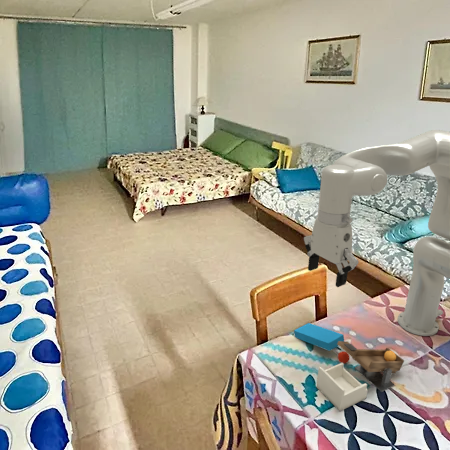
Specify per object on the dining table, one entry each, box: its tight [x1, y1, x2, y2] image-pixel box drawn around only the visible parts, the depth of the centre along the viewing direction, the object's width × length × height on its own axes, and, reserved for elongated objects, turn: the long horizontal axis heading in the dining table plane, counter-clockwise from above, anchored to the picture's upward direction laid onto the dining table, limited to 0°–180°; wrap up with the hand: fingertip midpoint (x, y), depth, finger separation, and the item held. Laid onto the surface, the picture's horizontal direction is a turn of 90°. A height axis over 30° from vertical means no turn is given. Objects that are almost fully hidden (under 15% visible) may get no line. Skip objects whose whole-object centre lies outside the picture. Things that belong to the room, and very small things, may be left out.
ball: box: [384, 350, 397, 361], centre depth 113 cm, size 3×3×3 cm
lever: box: [293, 322, 351, 364], centre depth 124 cm, size 7×7×18 cm
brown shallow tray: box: [337, 340, 405, 375], centre depth 113 cm, size 14×12×5 cm
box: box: [316, 362, 369, 412], centre depth 106 cm, size 9×9×7 cm
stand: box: [354, 364, 396, 393], centre depth 112 cm, size 5×10×6 cm, turn 28°
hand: (326, 277), depth 104 cm, fingers open, 9 cm apart
